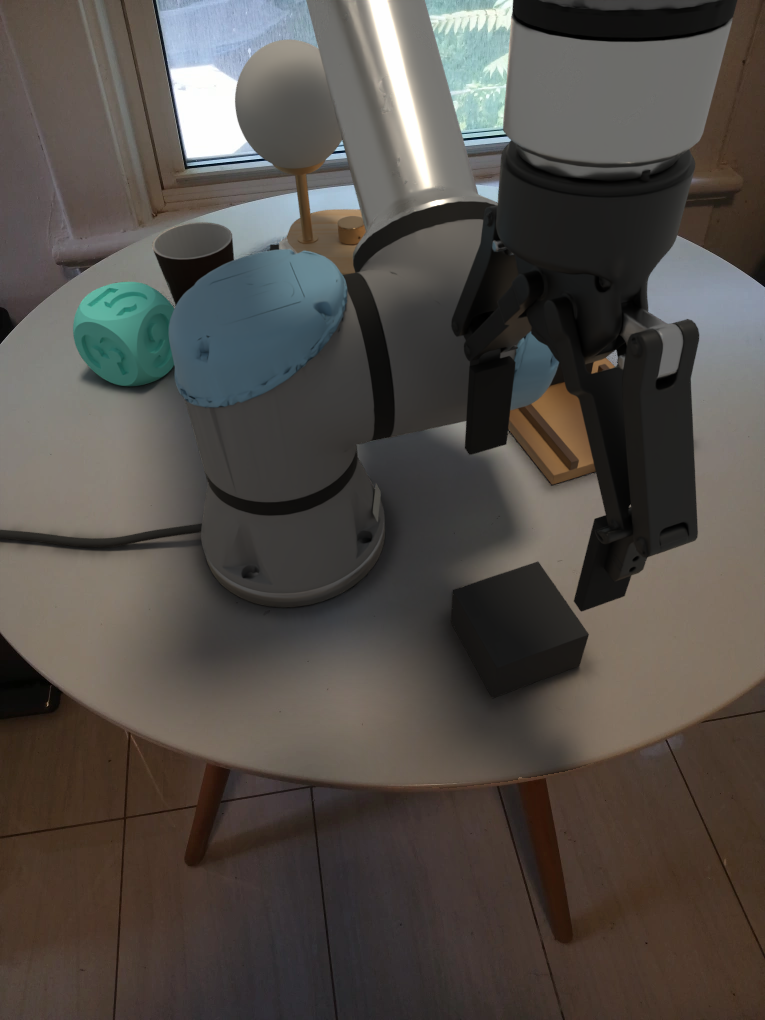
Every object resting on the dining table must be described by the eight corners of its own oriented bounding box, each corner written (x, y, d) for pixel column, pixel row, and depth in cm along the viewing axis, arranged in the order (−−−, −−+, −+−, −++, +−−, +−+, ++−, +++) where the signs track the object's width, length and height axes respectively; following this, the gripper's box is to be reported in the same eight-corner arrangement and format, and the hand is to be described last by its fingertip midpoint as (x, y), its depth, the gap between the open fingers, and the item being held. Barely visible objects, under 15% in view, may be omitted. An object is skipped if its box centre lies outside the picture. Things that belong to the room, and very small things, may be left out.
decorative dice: (131, 339, 84) (110, 275, 78) (190, 352, 82) (172, 288, 76) (87, 378, 79) (61, 313, 73) (148, 394, 77) (126, 327, 71)
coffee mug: (233, 344, 83) (215, 261, 75) (162, 338, 84) (138, 256, 77) (265, 292, 90) (251, 212, 83) (199, 287, 92) (181, 208, 85)
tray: (551, 485, 65) (555, 467, 64) (457, 365, 78) (458, 347, 77) (683, 444, 68) (690, 426, 67) (571, 335, 81) (574, 318, 80)
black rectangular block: (492, 698, 51) (496, 668, 48) (450, 621, 56) (452, 589, 53) (579, 665, 52) (589, 634, 50) (532, 593, 57) (538, 561, 54)
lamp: (515, 236, 98) (537, 14, 80) (522, 303, 86) (550, 61, 68) (274, 235, 101) (242, 21, 83) (249, 301, 89) (205, 67, 71)
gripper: (947, 262, 21) (726, 659, 37) (528, 49, 38) (496, 385, 53) (734, 319, 20) (596, 711, 35) (392, 71, 36) (401, 411, 51)
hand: (536, 515), depth 44 cm, fingers open, 13 cm apart
